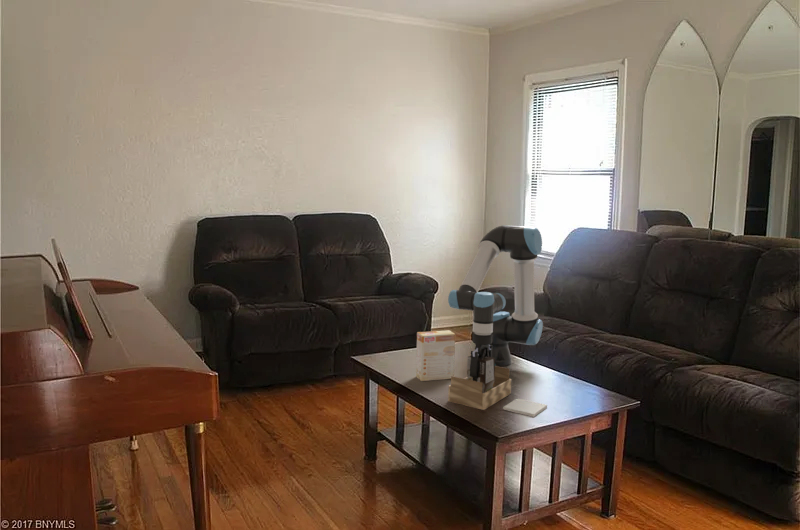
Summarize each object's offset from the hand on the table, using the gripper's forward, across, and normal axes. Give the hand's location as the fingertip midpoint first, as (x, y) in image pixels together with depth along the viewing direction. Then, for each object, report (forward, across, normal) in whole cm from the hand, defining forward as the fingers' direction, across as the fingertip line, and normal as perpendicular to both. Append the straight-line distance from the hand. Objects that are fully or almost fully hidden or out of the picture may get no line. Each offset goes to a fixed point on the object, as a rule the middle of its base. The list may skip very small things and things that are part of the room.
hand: (480, 391), depth 250 cm
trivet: (+3, 0, +19) cm, 19 cm away
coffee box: (+3, 0, 0) cm, 3 cm away
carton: (+3, 0, 0) cm, 3 cm away
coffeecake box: (+3, -10, -27) cm, 29 cm away
